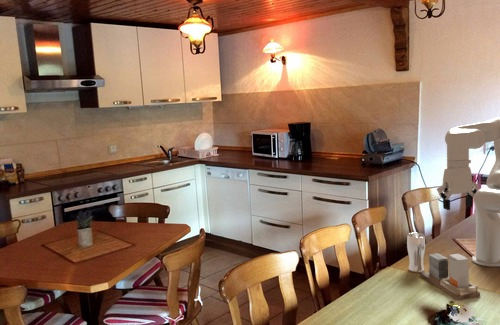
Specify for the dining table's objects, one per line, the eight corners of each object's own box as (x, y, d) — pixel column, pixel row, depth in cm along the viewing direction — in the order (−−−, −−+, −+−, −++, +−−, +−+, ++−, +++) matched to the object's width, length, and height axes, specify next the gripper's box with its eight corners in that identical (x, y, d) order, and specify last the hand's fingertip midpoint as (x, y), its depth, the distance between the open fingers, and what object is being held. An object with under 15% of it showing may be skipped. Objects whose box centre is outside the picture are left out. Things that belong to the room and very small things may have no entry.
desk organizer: (439, 273, 179) (439, 250, 178) (480, 296, 157) (480, 270, 155) (419, 276, 177) (419, 253, 176) (457, 300, 155) (457, 274, 154)
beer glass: (426, 272, 180) (426, 237, 178) (408, 272, 181) (408, 237, 179) (423, 266, 187) (423, 232, 185) (406, 266, 188) (405, 232, 186)
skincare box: (448, 285, 164) (448, 254, 162) (459, 284, 164) (459, 253, 163) (458, 292, 158) (458, 260, 156) (469, 290, 158) (469, 258, 157)
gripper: (471, 160, 173) (471, 203, 175) (431, 164, 169) (431, 208, 172) (484, 163, 165) (484, 207, 168) (443, 167, 162) (444, 212, 164)
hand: (457, 207), depth 170 cm, fingers open, 9 cm apart
